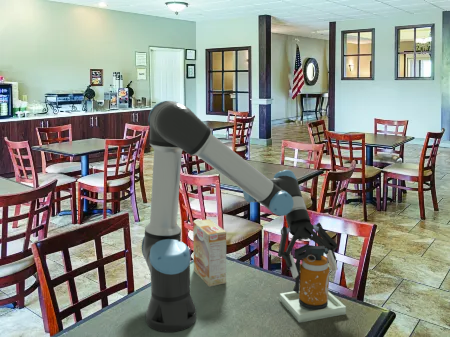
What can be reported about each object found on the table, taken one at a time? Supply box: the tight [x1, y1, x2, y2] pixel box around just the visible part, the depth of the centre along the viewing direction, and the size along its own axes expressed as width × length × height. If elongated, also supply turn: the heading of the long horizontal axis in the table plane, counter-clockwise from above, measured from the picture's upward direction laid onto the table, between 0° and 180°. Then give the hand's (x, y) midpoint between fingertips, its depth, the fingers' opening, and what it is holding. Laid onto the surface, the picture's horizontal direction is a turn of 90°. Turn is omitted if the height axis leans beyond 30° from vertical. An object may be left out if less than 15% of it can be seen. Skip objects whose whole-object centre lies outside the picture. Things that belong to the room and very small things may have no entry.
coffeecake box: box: [192, 218, 227, 287], centre depth 166 cm, size 15×7×20 cm, turn 25°
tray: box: [279, 290, 347, 324], centre depth 146 cm, size 16×14×2 cm
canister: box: [292, 243, 331, 310], centre depth 144 cm, size 9×11×20 cm
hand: (315, 273), depth 143 cm, fingers open, 13 cm apart
